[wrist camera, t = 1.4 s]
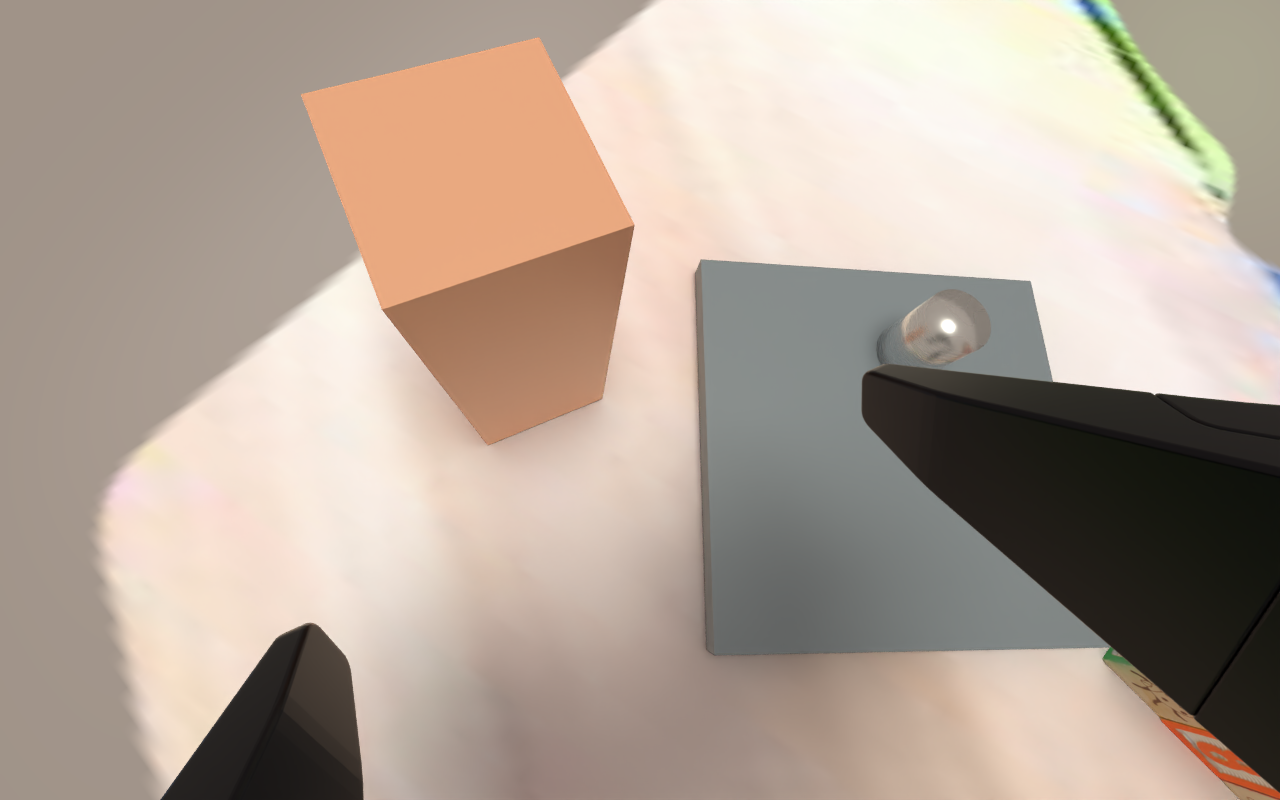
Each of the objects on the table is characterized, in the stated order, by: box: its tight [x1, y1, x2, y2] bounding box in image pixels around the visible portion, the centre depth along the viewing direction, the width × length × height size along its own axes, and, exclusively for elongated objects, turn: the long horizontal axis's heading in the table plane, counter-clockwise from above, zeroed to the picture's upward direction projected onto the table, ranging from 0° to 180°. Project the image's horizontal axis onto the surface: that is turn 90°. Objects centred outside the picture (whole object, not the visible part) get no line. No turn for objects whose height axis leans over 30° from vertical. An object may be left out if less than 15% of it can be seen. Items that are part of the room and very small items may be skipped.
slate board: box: [695, 260, 1110, 655], centre depth 23 cm, size 16×16×1 cm
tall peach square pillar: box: [301, 38, 634, 445], centre depth 17 cm, size 5×5×12 cm
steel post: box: [876, 289, 991, 369], centre depth 22 cm, size 3×3×5 cm
